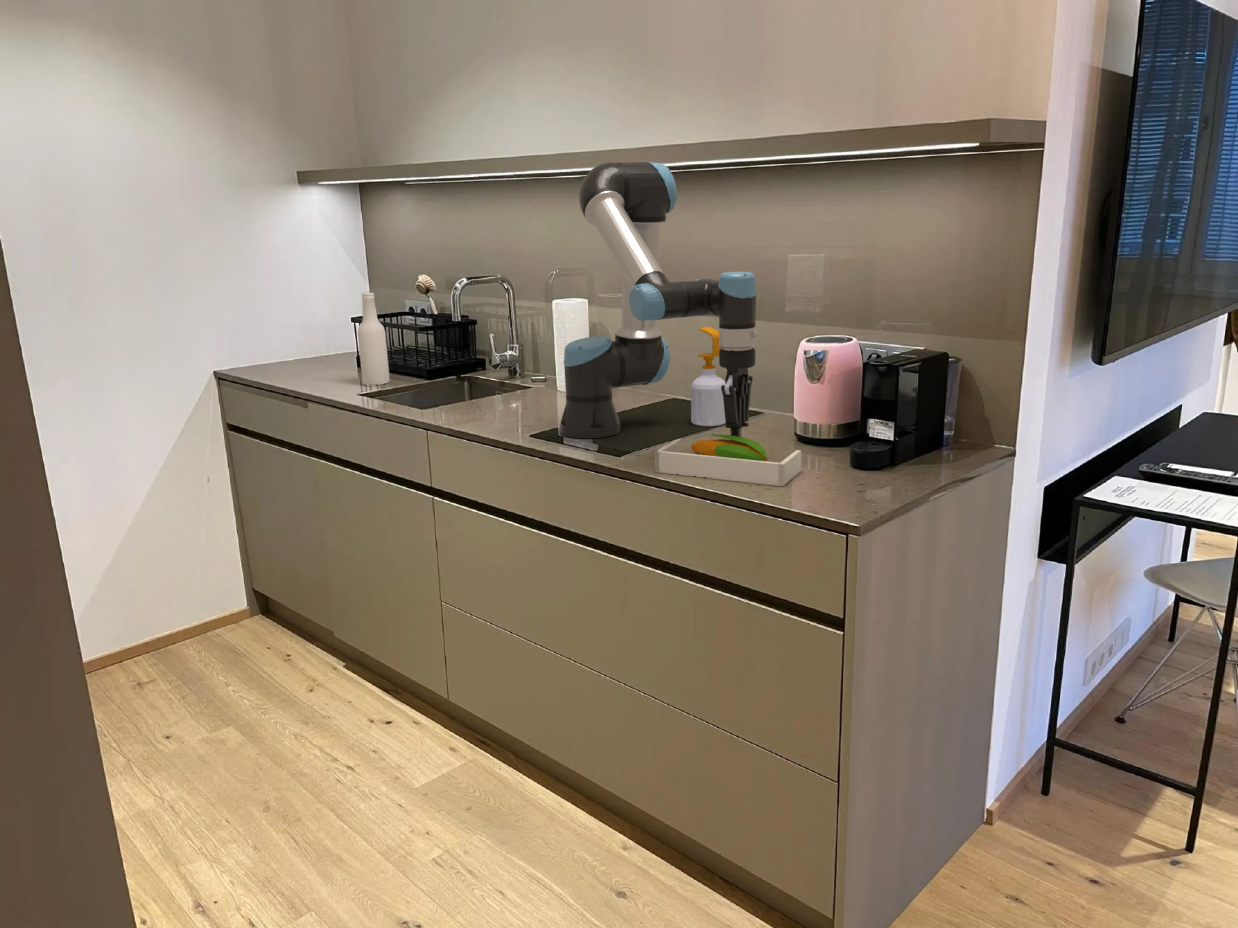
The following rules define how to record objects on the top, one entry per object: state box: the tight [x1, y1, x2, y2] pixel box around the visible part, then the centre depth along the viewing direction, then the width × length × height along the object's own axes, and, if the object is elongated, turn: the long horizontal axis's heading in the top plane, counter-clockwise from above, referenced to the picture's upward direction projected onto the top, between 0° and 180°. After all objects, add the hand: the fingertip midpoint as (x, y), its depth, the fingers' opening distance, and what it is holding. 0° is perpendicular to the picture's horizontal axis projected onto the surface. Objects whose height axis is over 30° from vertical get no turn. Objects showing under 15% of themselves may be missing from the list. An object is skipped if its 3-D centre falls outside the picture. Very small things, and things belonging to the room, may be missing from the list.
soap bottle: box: [690, 326, 726, 427], centre depth 238 cm, size 9×9×25 cm
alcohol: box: [357, 292, 391, 385], centre depth 306 cm, size 9×9×30 cm
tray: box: [654, 438, 802, 487], centre depth 195 cm, size 28×12×4 cm, turn 63°
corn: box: [690, 433, 769, 462], centre depth 196 cm, size 7×8×20 cm
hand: (737, 456), depth 200 cm, fingers closed
